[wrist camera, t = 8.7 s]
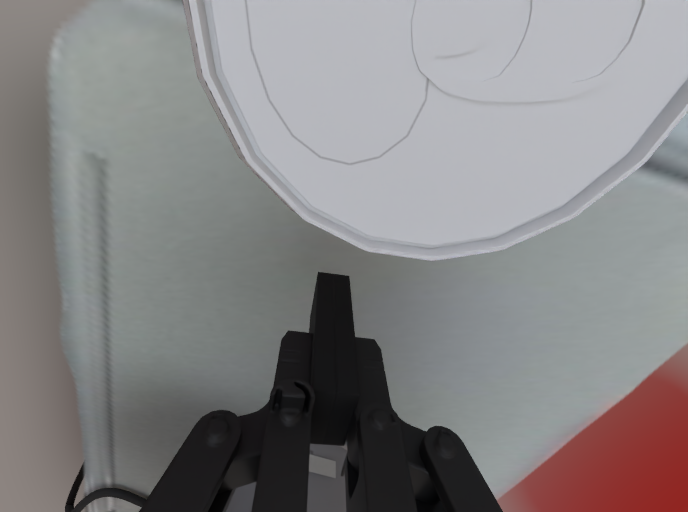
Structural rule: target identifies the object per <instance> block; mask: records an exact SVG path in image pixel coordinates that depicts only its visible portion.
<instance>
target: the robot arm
mask: <svg viewBox="0 0 688 512" xmlns="http://www.w3.org/2000/svg"><path fill="white" fill-rule="evenodd" d="M84 463H85V462H83V464H82V466H81V468H80V470H79V473H78V475H77V477H76V479H75V481H74V484H73V485H72V488H71V490H70V493H69V495H68V498H67V501H66V505H65V512H81V511H82V510H83V508H84V507H85V506H86V505H88V504H89V503H90V502H92V501H93V500H95V499H98V498H101V497H116V498H120V499H123V500H126V501H128V502H131V503H133V504H135V505H137V506H140V507H142V508H141V509H140V511H139V512H503V511H502V509H501V508H500V506H499V504H498V503H497V501H496V499H495V497H494V495H493V494H492V492H491V490H490V488H489V487H488V485H487V483H486V482H485V480H484V478H483V476H482V475H481V473H480V471H479V469H478V468H477V466H476V464H475V462H474V461H473V459H472V457H471V455H470V454H469V452H468V450H467V448H466V447H465V445H464V443H463V442H462V440H461V439H460V438H459V437H458V435H457V434H455V433H454V432H453V431H451V430H450V429H448V428H445V427H443V426H434V427H432V428H429V429H428V431H427V432H426V431H423V430H421V429H418V428H416V427H413V426H411V425H409V424H407V423H405V422H404V421H403V420H401V419H400V418H399V417H398V415H397V414H396V412H395V411H394V410H393V409H392V406H391V403H390V397H389V392H388V386H387V381H386V375H385V371H384V364H383V359H382V353H381V349H380V347H379V346H378V344H377V343H376V341H375V340H374V339H367V338H358V337H355V332H354V322H353V311H352V301H351V290H350V279H349V276H345V275H338V274H330V273H323V272H318V275H317V281H316V287H315V293H314V298H313V304H312V310H311V316H310V328H309V333H306V332H297V331H288V332H287V333H286V334H285V336H284V337H283V338H282V340H281V346H280V352H279V357H278V363H277V369H276V375H275V380H274V386H273V389H272V391H271V394H270V400H269V402H268V403H267V404H266V405H265V406H264V407H263V408H262V409H260V410H258V411H257V412H254V413H251V414H247V415H243V416H239V417H237V415H236V414H234V413H232V412H230V411H226V410H217V411H213V412H210V413H208V414H207V415H205V416H203V417H202V418H201V419H200V420H199V421H198V422H197V423H196V425H195V426H194V428H193V429H192V431H191V432H190V434H189V435H188V437H187V439H186V440H185V442H184V443H183V445H182V446H181V448H180V449H179V451H178V452H177V454H176V455H175V457H174V459H173V460H172V462H171V463H170V465H169V466H168V468H167V469H166V471H165V472H164V474H163V476H162V477H161V479H160V480H159V482H158V483H157V485H156V486H155V488H154V489H153V491H152V492H151V494H150V496H149V497H148V499H145V498H142V497H140V496H138V495H136V494H134V493H131V492H129V491H126V490H122V489H117V488H104V489H99V490H96V491H94V492H92V493H90V494H89V495H87V496H86V497H85V498H84V499H83V500H81V501H80V502H79V503H78V504H77V505H76V506H75V508H74V502H75V498H76V495H77V492H78V490H79V487H80V485H81V483H82V480H83V478H84V476H85V475H84V474H85V467H84V466H85V465H84Z"/></svg>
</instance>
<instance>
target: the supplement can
mask: <svg viewBox="0 0 688 512" xmlns="http://www.w3.org/2000/svg"><path fill="white" fill-rule="evenodd" d="M183 5H184V10H185V15H186V20H187V25H188V30H189V35H190V40H191V45H192V51H193V56H194V61H195V66H196V71H197V76H198V79H199V81H200V83H201V85H202V87H203V89H204V91H205V93H206V95H207V97H208V98H209V100H210V102H211V104H212V106H213V108H214V110H215V112H216V114H217V116H218V118H219V120H220V122H221V123H222V125H223V127H224V129H225V131H226V133H227V135H228V137H229V139H230V141H231V143H232V145H233V147H234V149H235V150H236V152H237V154H238V156H239V158H240V159H241V160H242V161H243V162H244V163H245V164H246V165H247V166H248V167H249V168H250V169H251V170H252V171H253V172H254V173H255V174H256V175H257V176H258V177H259V178H260V179H261V180H262V181H263V182H264V183H265V184H266V185H267V186H268V187H269V188H270V189H271V190H272V191H273V192H274V193H275V194H276V195H277V196H278V197H279V198H280V199H281V200H282V201H283V202H284V203H285V204H286V205H287V206H288V207H289V208H290V209H291V210H292V211H294V212H296V213H297V214H298V215H299V216H300V217H301V218H302V219H303V220H305V221H307V222H309V223H311V224H313V225H315V226H317V227H319V228H321V229H323V230H325V231H327V232H329V233H331V234H333V235H335V236H337V237H339V238H341V239H343V240H345V241H347V242H349V243H351V244H353V245H355V246H357V247H359V248H361V249H363V250H365V251H367V252H374V253H381V254H388V255H395V256H402V257H409V258H415V259H422V260H429V261H436V260H443V259H449V258H456V257H462V256H468V255H475V254H481V253H488V252H494V251H501V250H504V249H506V248H508V247H511V246H513V245H515V244H517V243H519V242H522V241H524V240H526V239H528V238H531V237H533V236H535V235H537V234H540V233H542V232H544V231H546V230H549V229H551V228H553V227H555V226H557V225H560V224H562V223H564V222H566V221H569V220H571V219H573V218H575V217H576V216H577V215H578V214H580V213H581V212H582V211H584V210H585V209H586V208H587V207H589V206H590V205H591V204H593V203H594V202H595V201H596V200H598V199H599V198H600V197H602V196H603V195H604V194H606V193H607V192H608V191H609V190H611V189H612V188H613V187H615V186H616V185H617V184H618V183H620V182H621V181H622V180H624V179H625V178H626V177H628V176H629V175H630V174H631V173H633V172H634V171H635V170H637V169H638V168H639V167H640V166H642V165H643V164H644V163H646V161H647V160H648V159H649V158H650V157H651V155H652V154H653V153H654V152H655V151H656V149H657V148H658V147H659V146H660V145H661V143H662V142H663V141H664V140H665V139H666V137H667V136H668V135H669V134H670V133H671V131H672V130H673V129H674V128H675V126H676V125H677V124H678V123H679V122H680V120H681V119H682V118H683V117H684V116H685V114H686V113H687V112H688V0H183Z"/></svg>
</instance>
